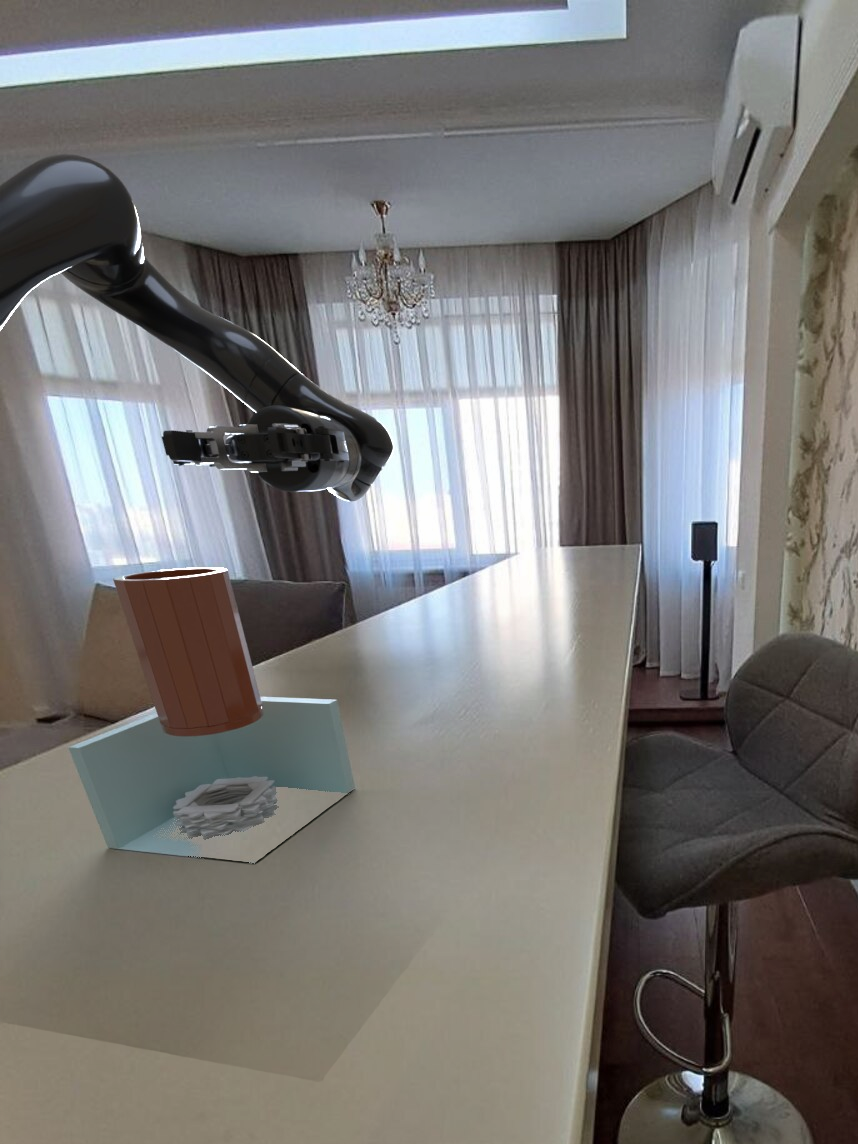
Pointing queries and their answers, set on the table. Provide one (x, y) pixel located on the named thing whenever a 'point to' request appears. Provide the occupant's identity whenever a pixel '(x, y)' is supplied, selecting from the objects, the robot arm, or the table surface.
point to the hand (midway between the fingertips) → (222, 443)
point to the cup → (191, 649)
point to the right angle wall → (209, 774)
